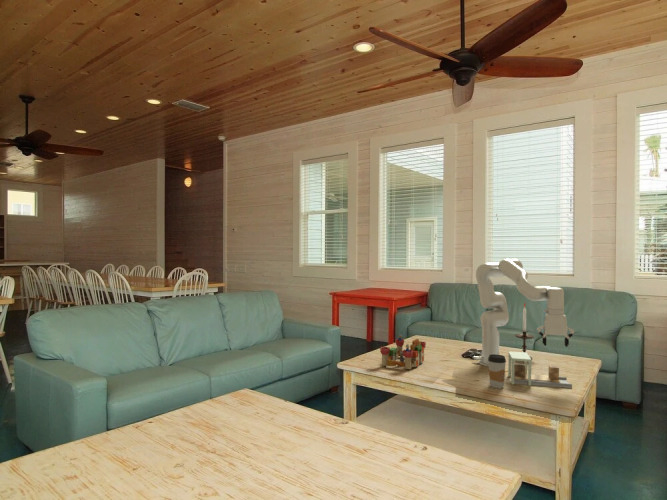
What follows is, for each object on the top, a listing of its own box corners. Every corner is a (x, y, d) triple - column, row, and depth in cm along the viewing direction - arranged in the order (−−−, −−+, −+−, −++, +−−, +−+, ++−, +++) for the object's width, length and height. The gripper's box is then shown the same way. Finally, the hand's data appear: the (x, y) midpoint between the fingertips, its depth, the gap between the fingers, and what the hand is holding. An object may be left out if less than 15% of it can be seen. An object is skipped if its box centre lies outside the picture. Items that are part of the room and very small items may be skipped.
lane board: (514, 383, 216) (514, 379, 216) (511, 376, 228) (511, 372, 228) (572, 388, 209) (572, 384, 209) (566, 381, 220) (566, 377, 220)
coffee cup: (496, 390, 206) (496, 359, 206) (484, 384, 214) (484, 355, 214) (509, 387, 210) (509, 357, 210) (496, 382, 217) (497, 353, 217)
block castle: (397, 354, 275) (397, 332, 275) (427, 358, 265) (428, 335, 265) (378, 365, 249) (378, 341, 249) (411, 370, 239) (412, 345, 239)
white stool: (511, 384, 215) (511, 358, 215) (508, 375, 229) (508, 351, 229) (531, 386, 213) (531, 359, 213) (526, 377, 227) (526, 352, 227)
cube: (514, 376, 219) (514, 366, 219) (513, 373, 224) (513, 364, 224) (525, 377, 218) (525, 367, 218) (523, 374, 223) (524, 365, 223)
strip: (516, 380, 217) (516, 366, 217) (514, 375, 226) (514, 361, 226) (560, 384, 211) (560, 369, 211) (555, 378, 221) (556, 364, 220)
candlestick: (534, 361, 259) (535, 303, 258) (515, 359, 262) (515, 302, 262) (532, 357, 269) (533, 301, 269) (514, 355, 272) (514, 300, 272)
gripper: (538, 312, 216) (538, 346, 216) (576, 313, 211) (576, 348, 211) (535, 310, 223) (535, 343, 223) (572, 311, 218) (572, 345, 218)
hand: (555, 345), depth 217 cm, fingers open, 9 cm apart
